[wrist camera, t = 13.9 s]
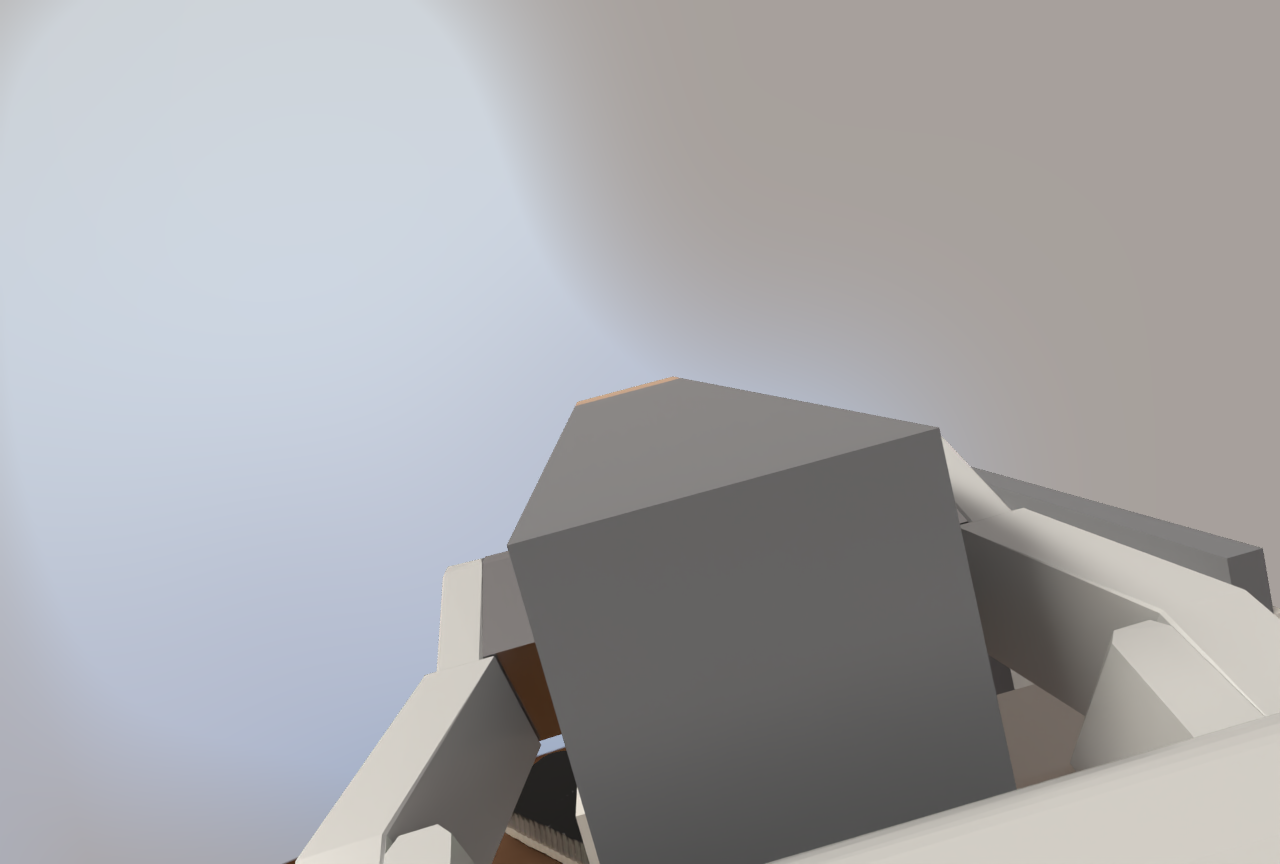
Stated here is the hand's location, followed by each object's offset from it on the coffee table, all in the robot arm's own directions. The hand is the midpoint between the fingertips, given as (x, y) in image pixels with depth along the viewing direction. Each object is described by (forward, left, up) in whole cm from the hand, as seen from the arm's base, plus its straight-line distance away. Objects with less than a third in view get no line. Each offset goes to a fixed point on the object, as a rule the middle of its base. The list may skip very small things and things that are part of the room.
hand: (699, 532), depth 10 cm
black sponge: (-10, +42, -33) cm, 54 cm away
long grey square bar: (0, +6, -2) cm, 7 cm away
